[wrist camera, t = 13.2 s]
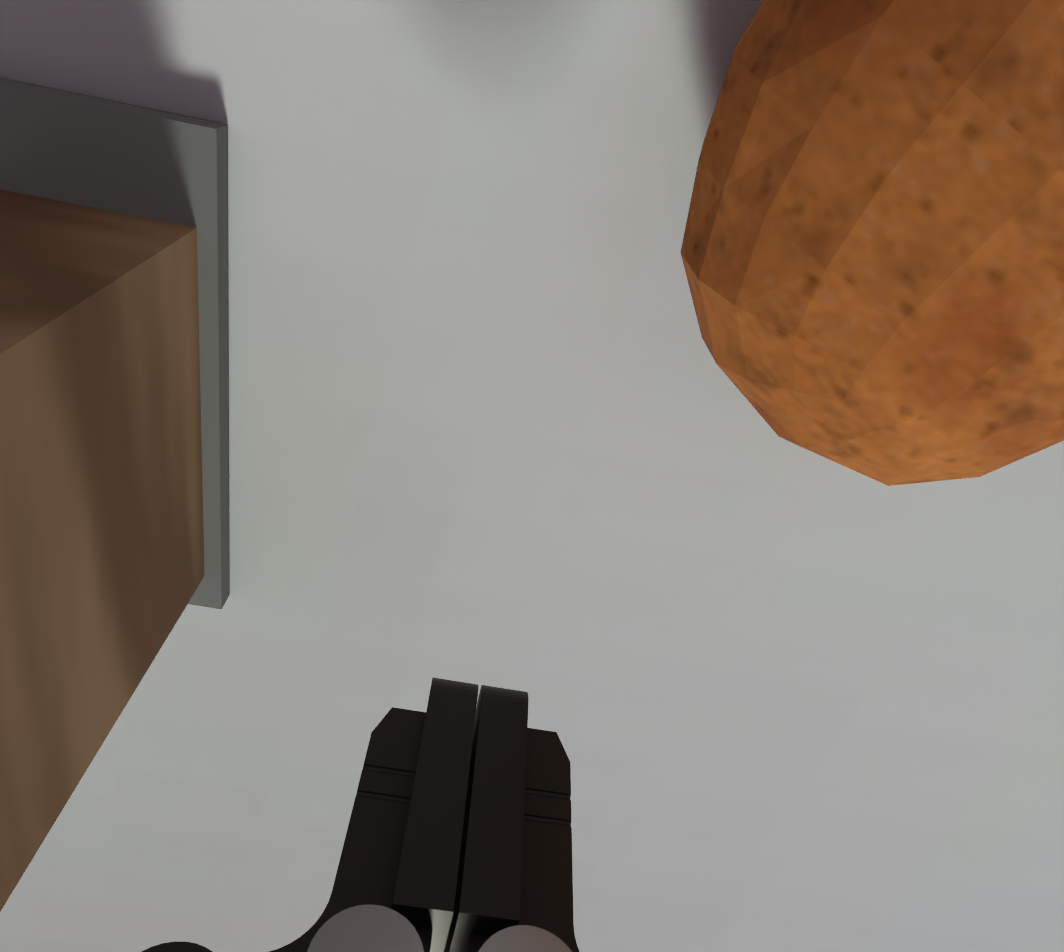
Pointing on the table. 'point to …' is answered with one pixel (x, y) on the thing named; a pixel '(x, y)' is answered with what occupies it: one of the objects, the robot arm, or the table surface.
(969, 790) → the table surface
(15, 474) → the slab
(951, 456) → the potato
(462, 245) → the table surface
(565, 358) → the table surface
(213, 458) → the mat
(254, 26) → the table surface
